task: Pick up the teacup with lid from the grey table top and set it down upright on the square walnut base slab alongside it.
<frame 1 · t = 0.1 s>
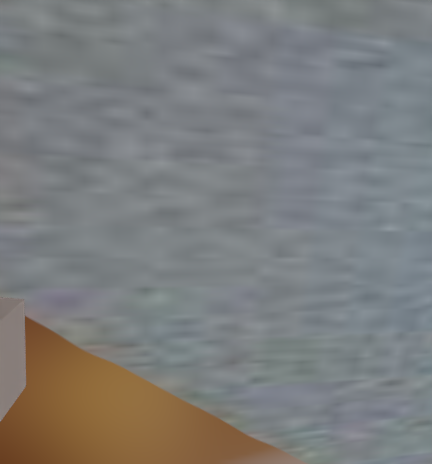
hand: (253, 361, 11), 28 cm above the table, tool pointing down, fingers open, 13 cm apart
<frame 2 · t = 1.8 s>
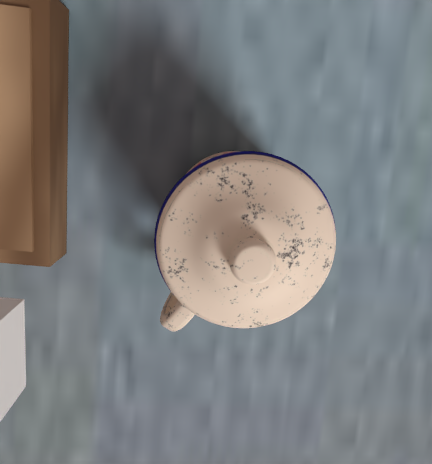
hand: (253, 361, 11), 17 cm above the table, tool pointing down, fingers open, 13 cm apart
teacup with lid: (220, 226, 27), on the table
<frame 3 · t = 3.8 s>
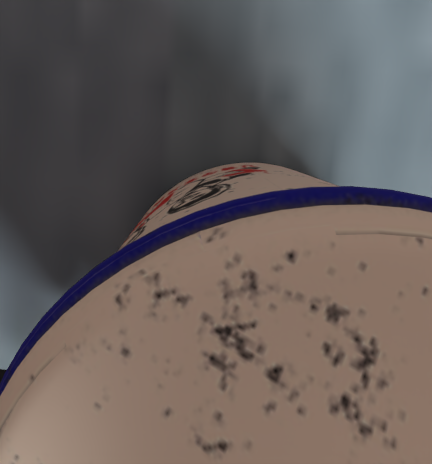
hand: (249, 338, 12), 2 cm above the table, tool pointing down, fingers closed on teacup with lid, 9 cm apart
teacup with lid: (221, 310, 14), on the table, touching gripper
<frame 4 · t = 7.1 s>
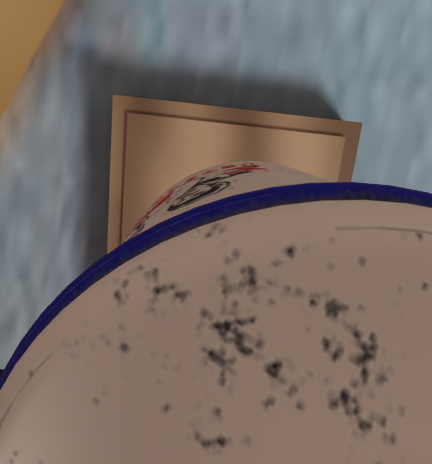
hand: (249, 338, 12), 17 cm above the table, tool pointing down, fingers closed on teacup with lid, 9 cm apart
teacup with lid: (221, 309, 14), point 15 cm above the table, touching gripper
walnut base: (223, 220, 28), on the table
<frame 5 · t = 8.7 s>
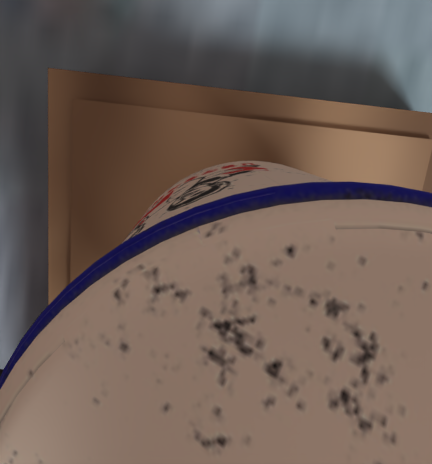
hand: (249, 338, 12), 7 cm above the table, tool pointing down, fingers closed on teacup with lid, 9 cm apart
teacup with lid: (221, 308, 14), point 5 cm above the table, touching gripper
walnut base: (231, 264, 19), on the table
when the fingers open (5 cm above the table, at t = 10.0 s): teacup with lid stays where it is, resting on walnut base.
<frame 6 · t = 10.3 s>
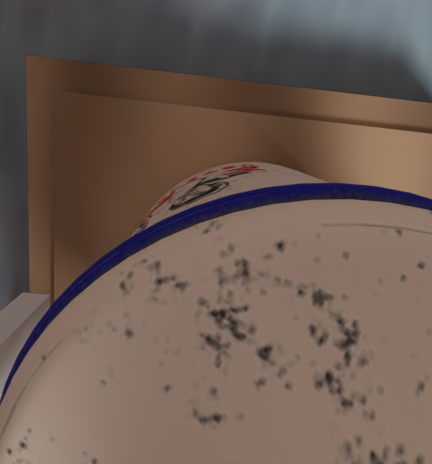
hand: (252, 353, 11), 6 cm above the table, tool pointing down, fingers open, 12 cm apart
teacup with lid: (222, 306, 14), point 3 cm above the table, touching walnut base
walnut base: (235, 276, 17), on the table
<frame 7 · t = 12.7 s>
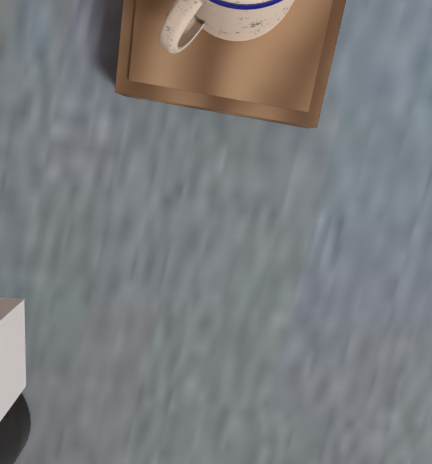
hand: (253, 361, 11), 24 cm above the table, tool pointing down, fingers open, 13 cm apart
walnut base: (233, 9, 30), on the table
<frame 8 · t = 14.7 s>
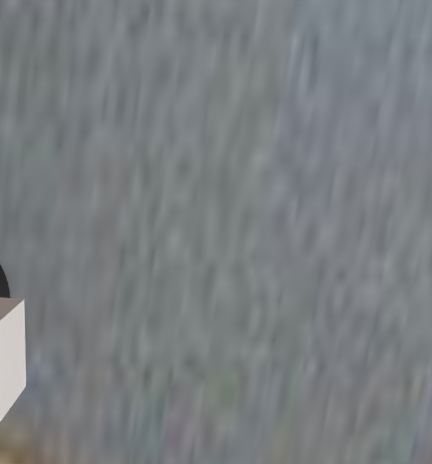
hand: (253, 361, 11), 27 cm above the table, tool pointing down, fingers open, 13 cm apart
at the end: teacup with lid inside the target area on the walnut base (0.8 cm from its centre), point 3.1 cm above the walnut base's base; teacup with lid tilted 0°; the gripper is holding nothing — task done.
